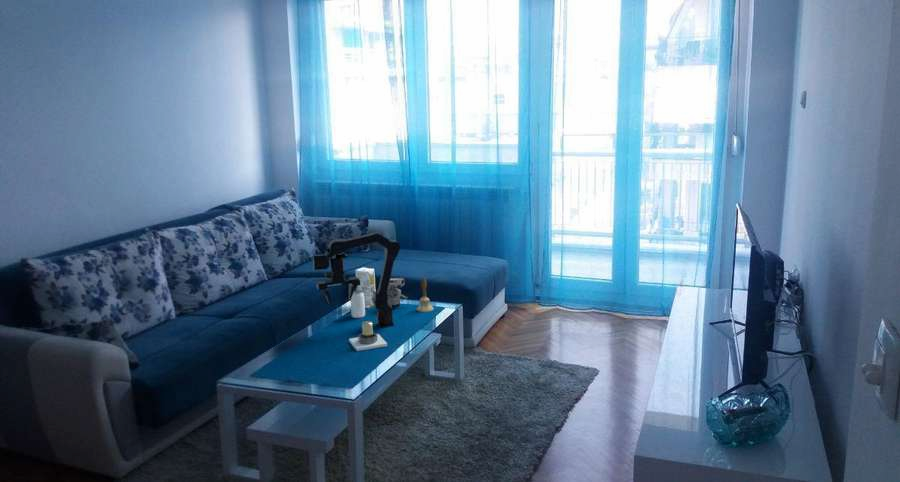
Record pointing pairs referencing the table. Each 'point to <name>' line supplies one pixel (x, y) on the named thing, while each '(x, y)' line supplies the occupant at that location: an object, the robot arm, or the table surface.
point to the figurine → (395, 291)
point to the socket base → (367, 346)
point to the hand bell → (424, 299)
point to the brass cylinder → (367, 329)
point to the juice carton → (366, 284)
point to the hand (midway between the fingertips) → (339, 302)
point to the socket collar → (367, 339)
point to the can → (357, 304)
